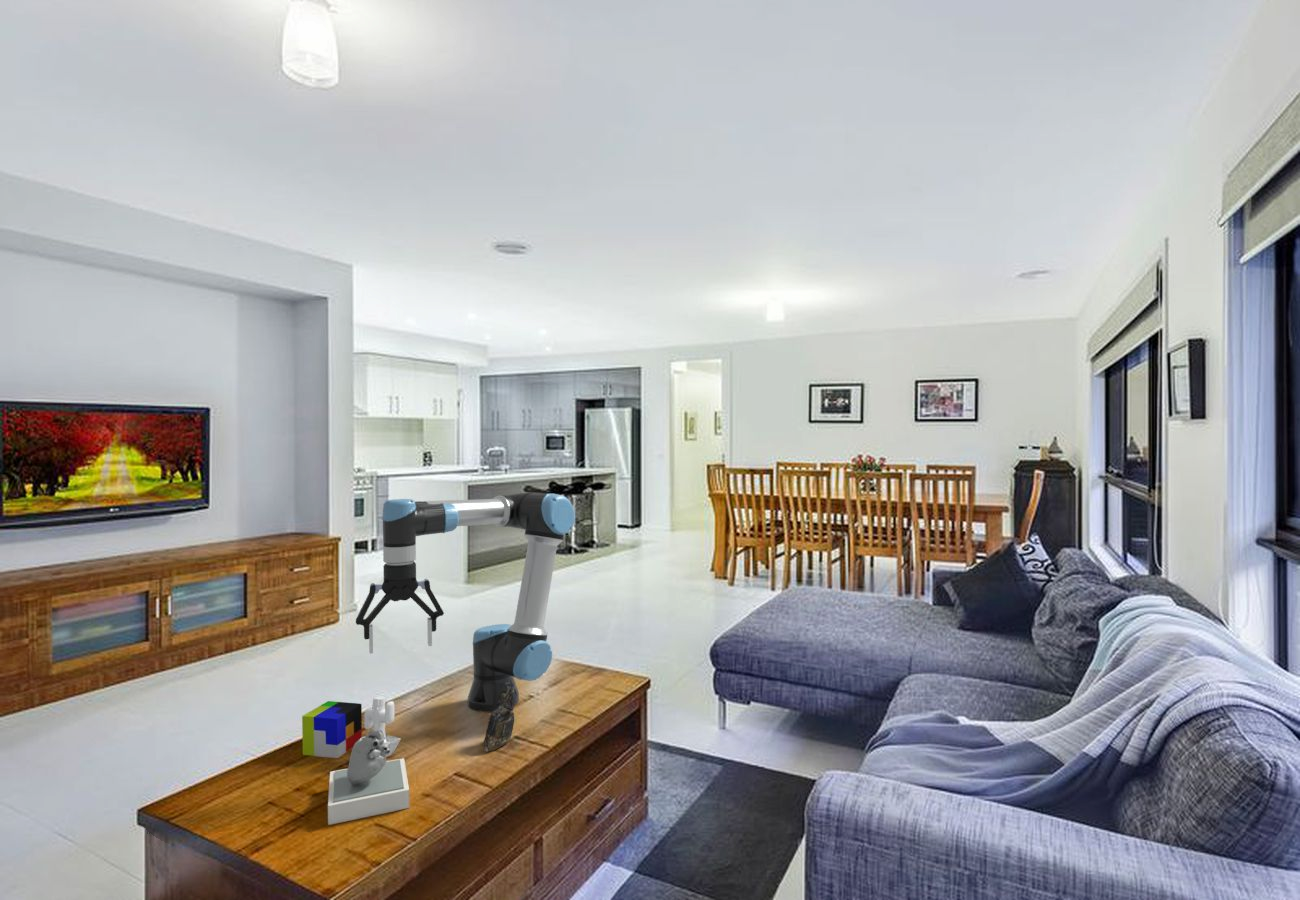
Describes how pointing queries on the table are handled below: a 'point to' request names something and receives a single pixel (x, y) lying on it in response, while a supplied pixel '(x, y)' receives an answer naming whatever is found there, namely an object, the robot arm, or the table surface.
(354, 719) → the puzzle toy
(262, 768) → the table surface
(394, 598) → the robot arm
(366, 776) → the heart
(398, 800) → the plinth
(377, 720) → the figurine
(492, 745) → the statue
